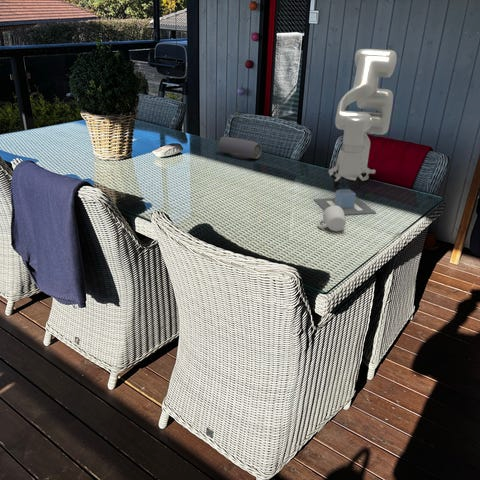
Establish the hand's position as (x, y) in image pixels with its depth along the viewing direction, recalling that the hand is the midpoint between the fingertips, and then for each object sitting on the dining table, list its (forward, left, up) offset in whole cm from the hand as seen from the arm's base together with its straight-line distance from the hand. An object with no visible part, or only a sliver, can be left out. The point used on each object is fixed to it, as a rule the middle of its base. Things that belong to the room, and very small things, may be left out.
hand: (346, 188), depth 199 cm
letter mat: (0, +1, -8) cm, 8 cm away
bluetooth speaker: (+27, -77, -8) cm, 83 cm away
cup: (+15, +25, -5) cm, 29 cm away
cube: (0, 0, -7) cm, 7 cm away
